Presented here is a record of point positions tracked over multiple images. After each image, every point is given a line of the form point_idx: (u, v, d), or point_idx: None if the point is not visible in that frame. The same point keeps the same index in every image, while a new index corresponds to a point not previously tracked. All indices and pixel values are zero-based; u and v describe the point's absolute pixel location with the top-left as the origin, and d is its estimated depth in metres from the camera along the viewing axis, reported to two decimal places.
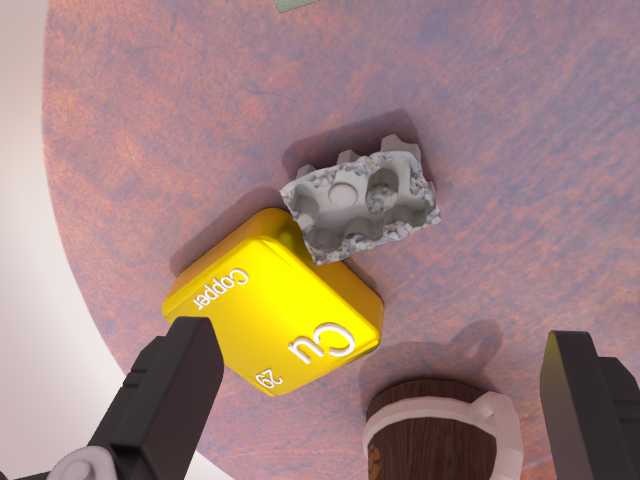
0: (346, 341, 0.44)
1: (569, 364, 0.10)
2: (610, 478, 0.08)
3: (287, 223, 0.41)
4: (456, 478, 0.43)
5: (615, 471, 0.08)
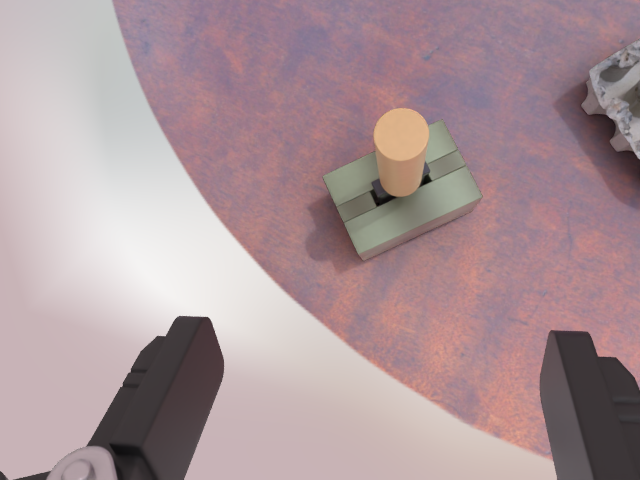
0: None
1: (569, 364, 0.10)
2: (610, 478, 0.08)
3: None
4: None
5: (615, 471, 0.08)
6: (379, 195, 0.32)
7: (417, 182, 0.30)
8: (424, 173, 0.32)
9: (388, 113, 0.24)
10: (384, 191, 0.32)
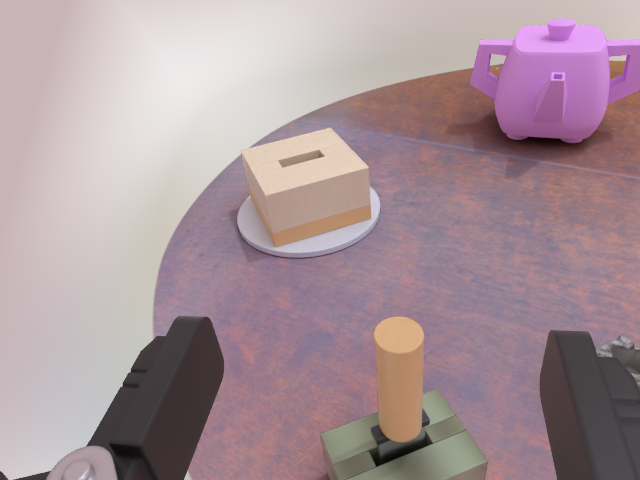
0: None
1: (569, 364, 0.10)
2: (610, 478, 0.08)
3: None
4: None
5: (615, 471, 0.08)
6: (379, 441, 0.31)
7: (417, 416, 0.30)
8: (424, 421, 0.32)
9: (387, 319, 0.28)
10: (384, 436, 0.31)
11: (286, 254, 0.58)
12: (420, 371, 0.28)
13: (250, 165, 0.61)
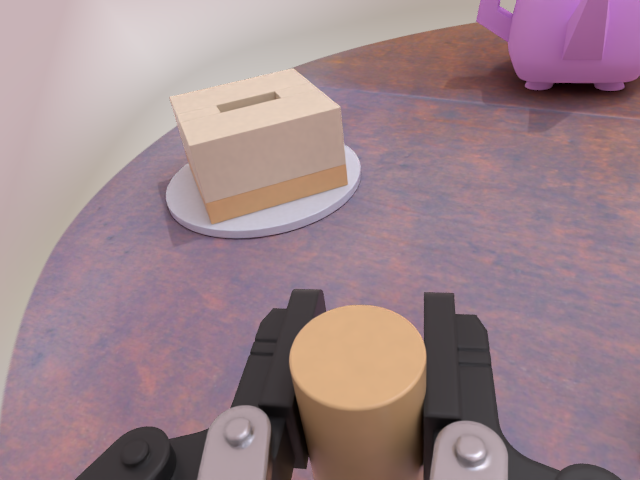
0: None
1: (429, 319, 0.12)
2: (437, 407, 0.10)
3: None
4: None
5: (443, 402, 0.10)
6: None
7: None
8: None
9: (329, 314, 0.11)
10: None
11: (226, 233, 0.41)
12: (418, 449, 0.10)
13: (177, 112, 0.44)
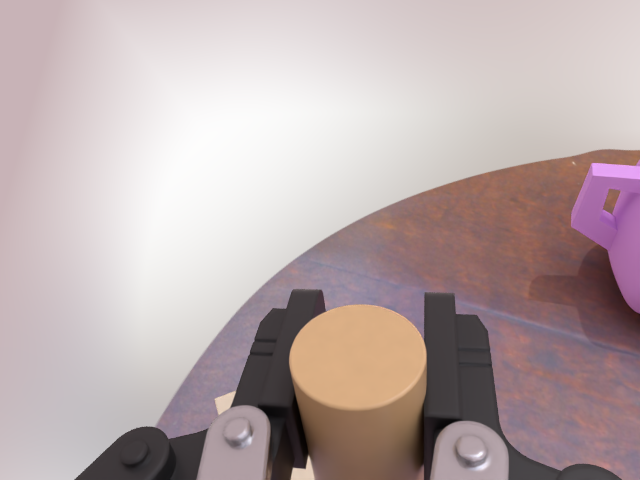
0: None
1: (430, 319, 0.11)
2: (437, 408, 0.10)
3: None
4: None
5: (443, 402, 0.10)
6: None
7: None
8: None
9: (329, 313, 0.11)
10: None
11: None
12: (419, 449, 0.10)
13: None
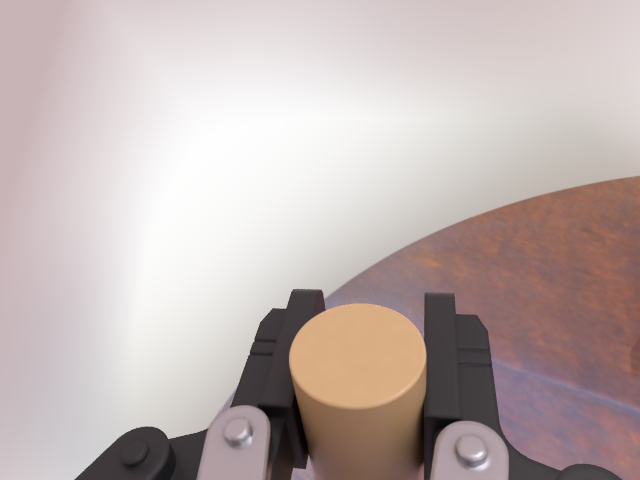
0: None
1: (430, 319, 0.11)
2: (437, 407, 0.10)
3: None
4: None
5: (443, 402, 0.10)
6: None
7: None
8: None
9: (329, 312, 0.11)
10: None
11: None
12: (419, 448, 0.10)
13: None
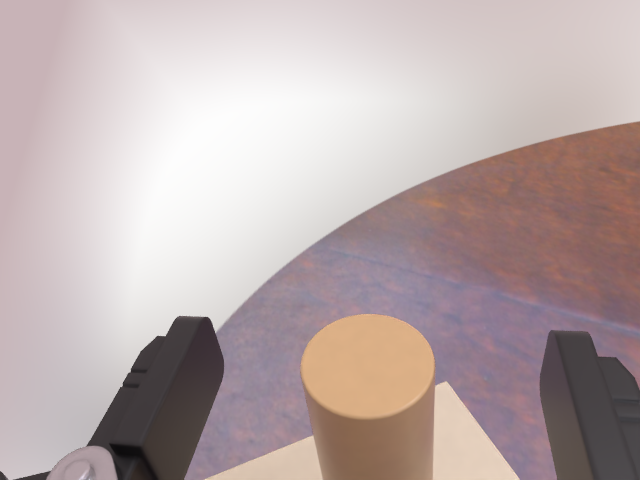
0: None
1: (569, 364, 0.10)
2: (610, 478, 0.08)
3: None
4: None
5: (615, 471, 0.08)
6: None
7: None
8: None
9: (339, 323, 0.11)
10: None
11: None
12: (427, 456, 0.11)
13: None
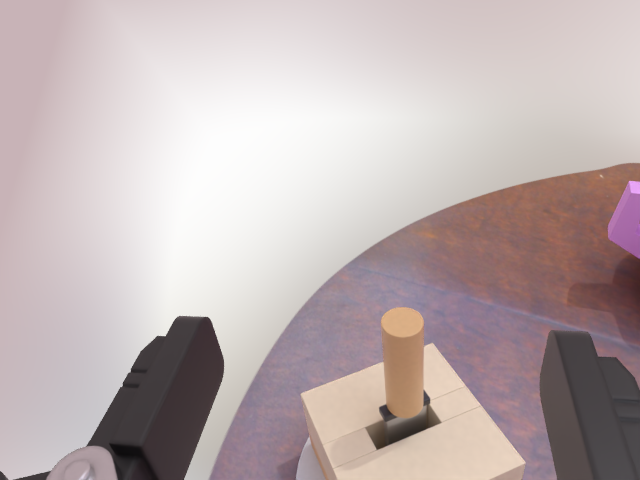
0: None
1: (569, 364, 0.10)
2: (610, 478, 0.08)
3: None
4: None
5: (615, 471, 0.08)
6: (386, 418, 0.36)
7: (419, 394, 0.34)
8: (425, 400, 0.36)
9: (391, 310, 0.33)
10: (390, 414, 0.36)
11: None
12: (421, 353, 0.32)
13: (322, 438, 0.38)
